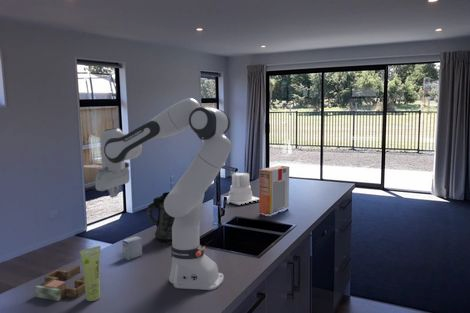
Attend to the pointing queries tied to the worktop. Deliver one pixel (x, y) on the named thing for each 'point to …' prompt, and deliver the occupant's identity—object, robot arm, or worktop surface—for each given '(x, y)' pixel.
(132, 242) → the medicine box
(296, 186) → the worktop surface
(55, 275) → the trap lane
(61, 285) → the terracotta block
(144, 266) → the worktop surface
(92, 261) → the tube
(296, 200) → the worktop surface
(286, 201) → the pasta box
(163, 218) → the beer stein
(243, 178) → the recessed light fixture
